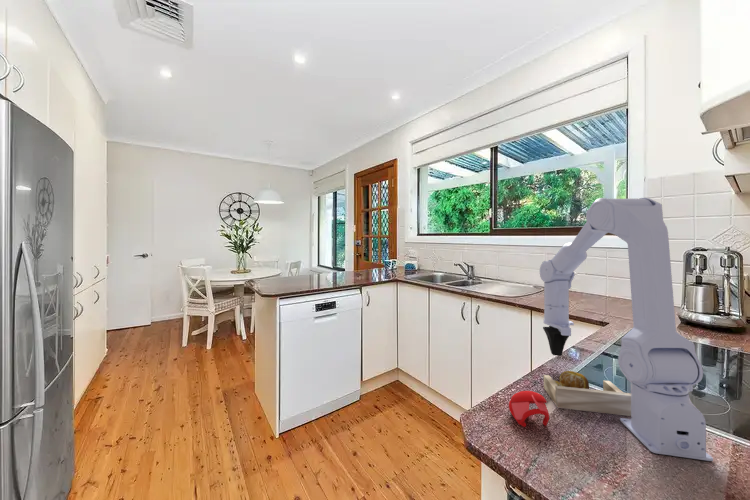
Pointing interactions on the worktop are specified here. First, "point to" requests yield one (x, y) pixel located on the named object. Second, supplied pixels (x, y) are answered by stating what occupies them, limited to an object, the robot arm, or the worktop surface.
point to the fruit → (573, 380)
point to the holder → (590, 398)
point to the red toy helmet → (527, 406)
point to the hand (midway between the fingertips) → (556, 354)
